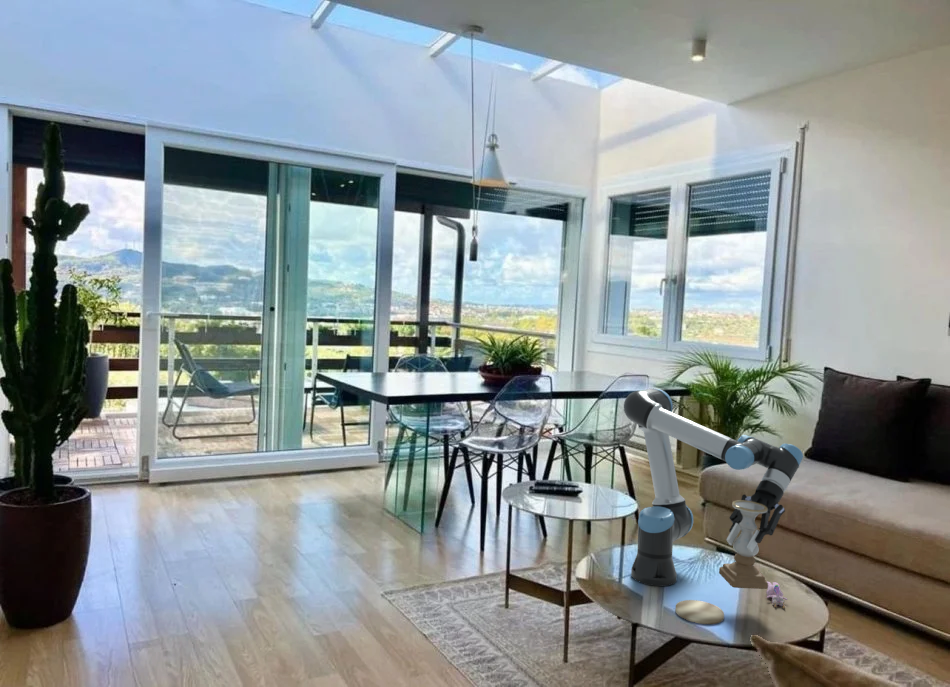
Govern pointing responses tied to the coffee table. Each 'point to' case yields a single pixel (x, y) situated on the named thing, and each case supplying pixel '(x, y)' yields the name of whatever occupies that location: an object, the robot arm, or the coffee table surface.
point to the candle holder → (745, 550)
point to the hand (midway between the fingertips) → (739, 546)
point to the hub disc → (699, 612)
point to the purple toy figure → (775, 594)
